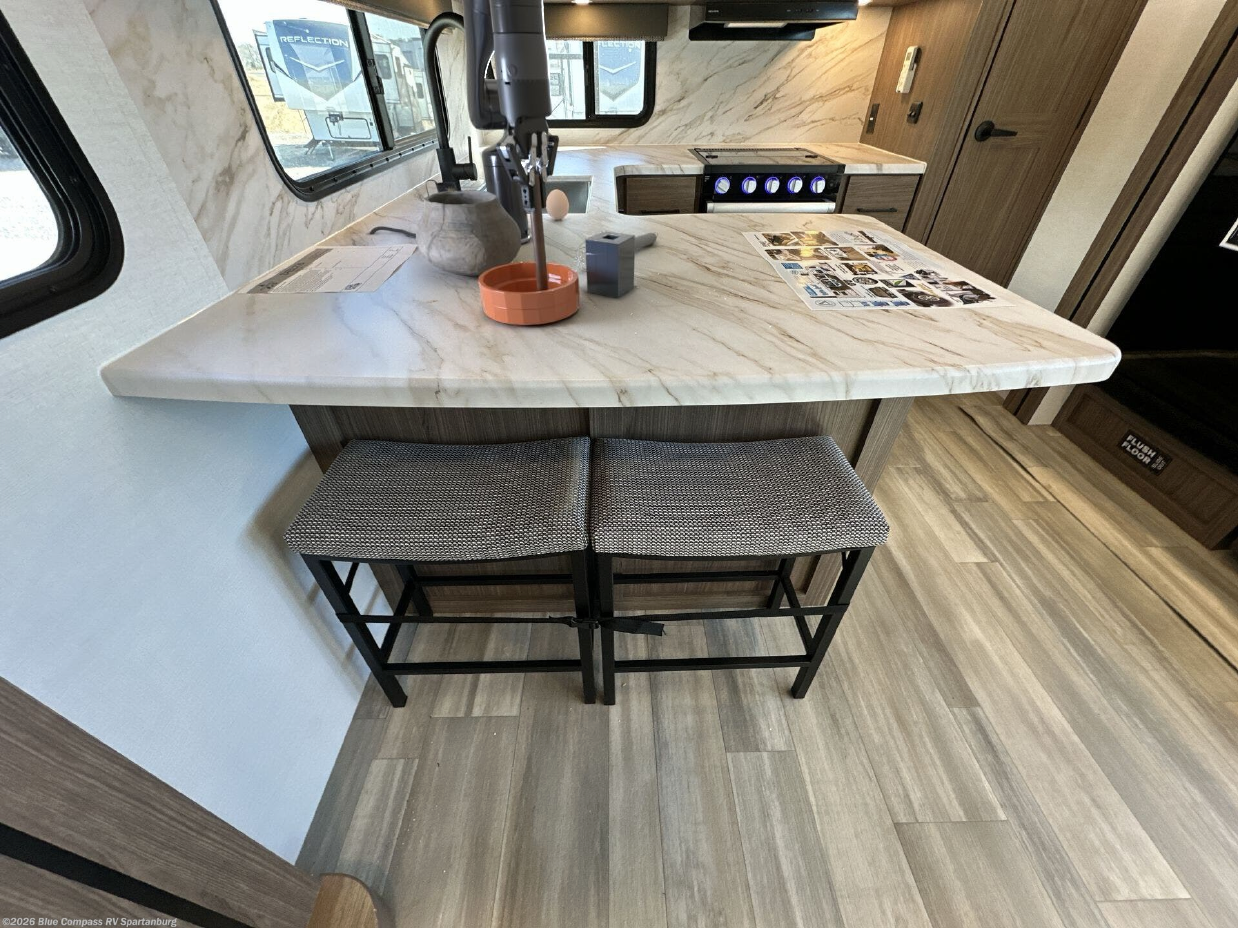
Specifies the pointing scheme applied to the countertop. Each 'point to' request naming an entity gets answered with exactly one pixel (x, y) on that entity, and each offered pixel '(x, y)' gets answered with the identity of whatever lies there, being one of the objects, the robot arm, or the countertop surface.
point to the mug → (443, 186)
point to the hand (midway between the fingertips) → (535, 209)
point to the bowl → (529, 293)
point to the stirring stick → (539, 241)
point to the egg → (557, 204)
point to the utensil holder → (610, 263)
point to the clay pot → (467, 232)
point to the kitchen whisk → (639, 242)
